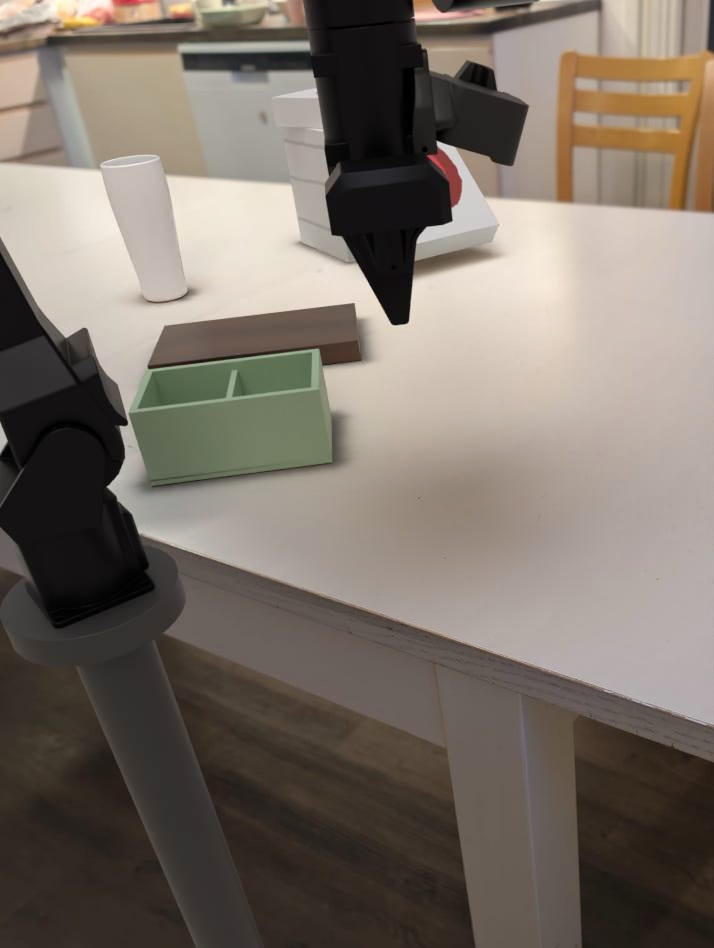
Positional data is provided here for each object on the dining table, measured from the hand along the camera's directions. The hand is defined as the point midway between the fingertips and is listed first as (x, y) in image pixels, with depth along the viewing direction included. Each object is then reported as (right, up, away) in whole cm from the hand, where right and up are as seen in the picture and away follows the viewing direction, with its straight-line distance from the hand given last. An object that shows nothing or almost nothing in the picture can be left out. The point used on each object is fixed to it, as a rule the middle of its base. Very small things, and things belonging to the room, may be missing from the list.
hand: (399, 319), depth 59 cm
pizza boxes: (-6, +32, +66) cm, 73 cm away
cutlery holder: (-14, -5, +17) cm, 23 cm away
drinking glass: (-33, +21, +55) cm, 68 cm away
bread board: (-17, +9, +36) cm, 41 cm away
